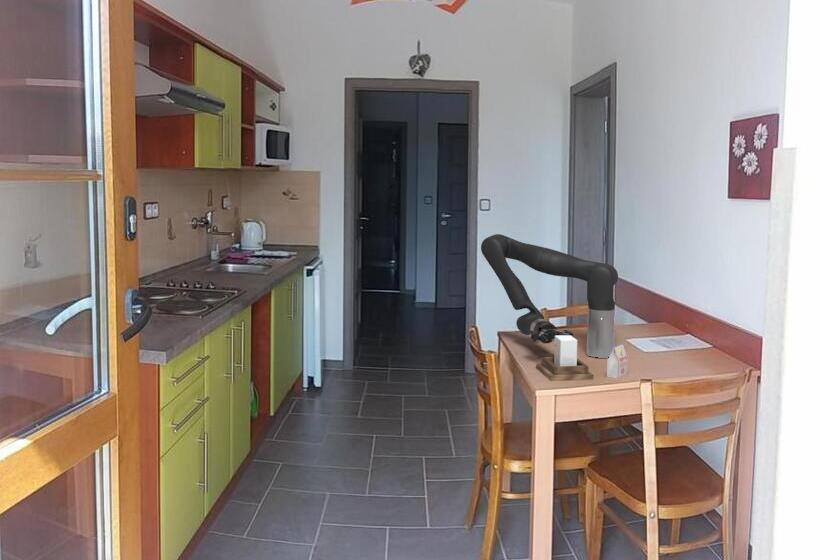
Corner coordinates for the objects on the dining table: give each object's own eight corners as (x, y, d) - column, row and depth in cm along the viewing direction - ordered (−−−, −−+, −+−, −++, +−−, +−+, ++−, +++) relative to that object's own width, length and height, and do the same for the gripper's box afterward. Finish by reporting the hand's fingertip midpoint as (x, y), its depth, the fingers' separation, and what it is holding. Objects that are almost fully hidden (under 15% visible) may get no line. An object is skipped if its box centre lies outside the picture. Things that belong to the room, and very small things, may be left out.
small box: (576, 372, 235) (577, 340, 233) (559, 372, 234) (560, 340, 233) (570, 365, 242) (571, 334, 241) (553, 366, 242) (554, 335, 241)
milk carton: (606, 377, 234) (608, 347, 233) (616, 373, 239) (617, 343, 238) (617, 379, 232) (618, 348, 230) (626, 375, 237) (628, 345, 235)
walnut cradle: (576, 366, 247) (576, 355, 247) (593, 379, 231) (593, 367, 231) (536, 367, 246) (536, 356, 245) (550, 380, 230) (551, 368, 229)
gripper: (524, 320, 259) (537, 329, 243) (562, 319, 261) (578, 328, 245) (523, 341, 260) (536, 351, 244) (562, 340, 262) (577, 350, 246)
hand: (557, 340), depth 245 cm, fingers open, 8 cm apart
